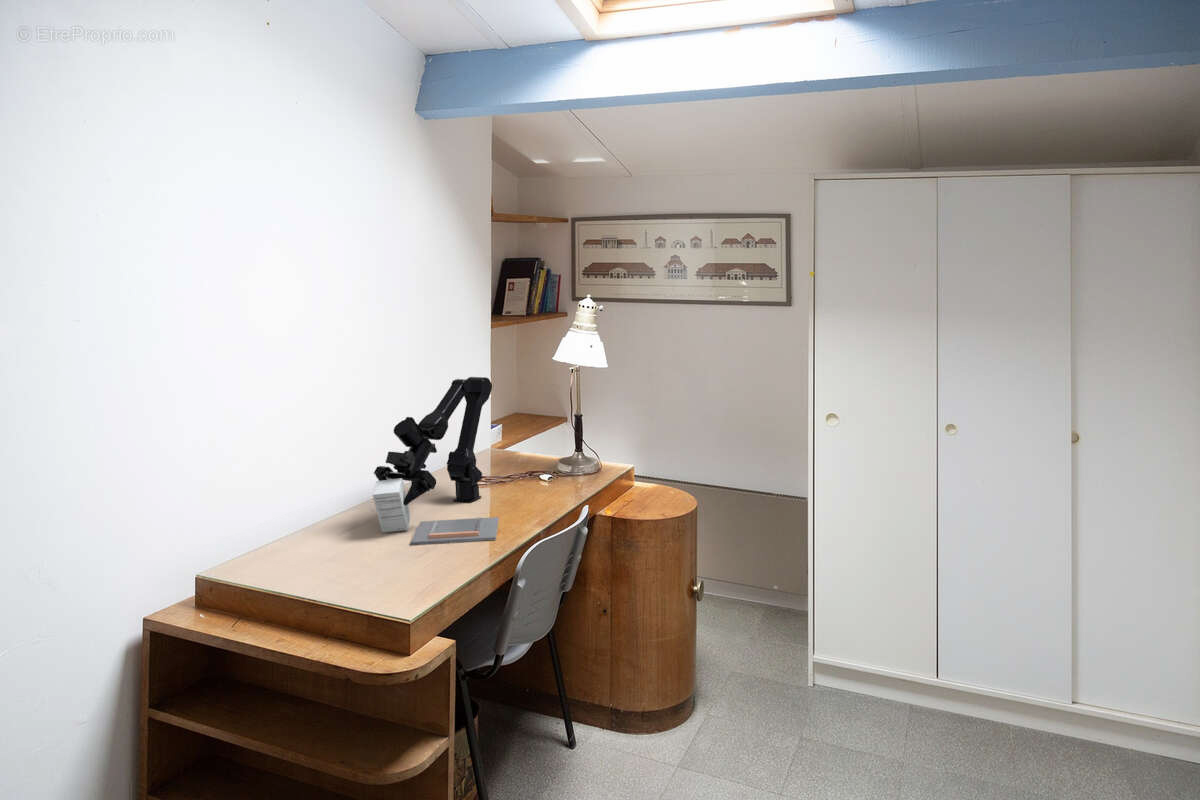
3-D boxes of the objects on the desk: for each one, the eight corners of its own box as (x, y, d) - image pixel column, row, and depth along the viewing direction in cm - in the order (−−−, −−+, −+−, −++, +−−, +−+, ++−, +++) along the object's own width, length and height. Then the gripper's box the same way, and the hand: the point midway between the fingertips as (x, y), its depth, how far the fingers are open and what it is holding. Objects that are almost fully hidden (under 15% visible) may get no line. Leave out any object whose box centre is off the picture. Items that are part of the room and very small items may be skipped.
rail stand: (420, 524, 224) (420, 518, 224) (498, 519, 226) (498, 513, 226) (410, 545, 207) (410, 538, 206) (495, 540, 208) (495, 533, 208)
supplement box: (385, 518, 224) (376, 480, 218) (411, 515, 224) (403, 477, 219) (381, 533, 217) (371, 494, 212) (408, 530, 218) (399, 491, 212)
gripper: (376, 438, 225) (349, 483, 217) (427, 441, 216) (401, 489, 208) (397, 460, 233) (372, 505, 225) (447, 465, 224) (423, 512, 216)
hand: (391, 502), depth 218 cm, fingers closed on supplement box, 9 cm apart
